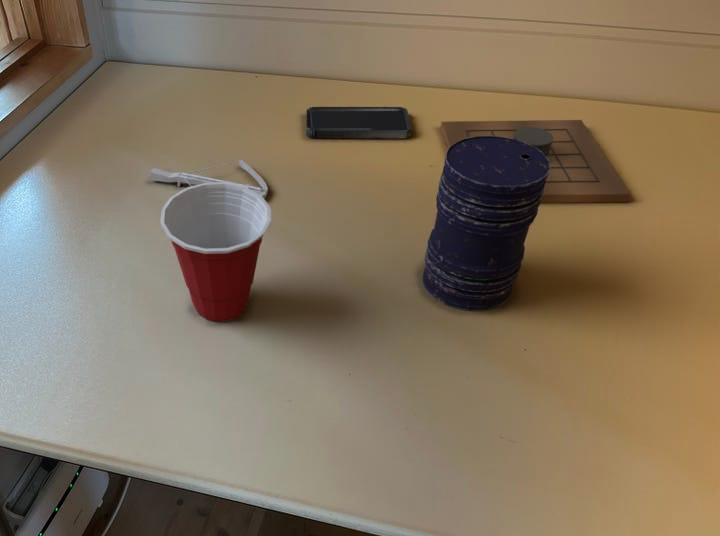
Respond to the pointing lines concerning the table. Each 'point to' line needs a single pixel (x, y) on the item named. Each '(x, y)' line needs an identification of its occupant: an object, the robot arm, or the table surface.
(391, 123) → the phone
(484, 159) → the dark blue cylinder
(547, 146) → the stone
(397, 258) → the table surface
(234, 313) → the plastic cup
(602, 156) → the board
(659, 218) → the table surface
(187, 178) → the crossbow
